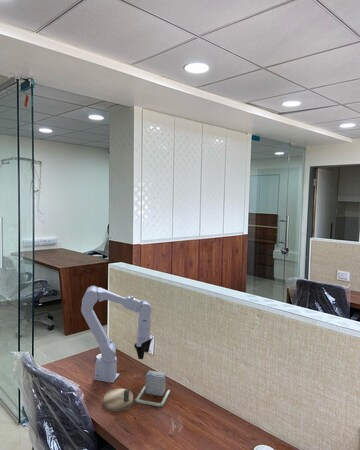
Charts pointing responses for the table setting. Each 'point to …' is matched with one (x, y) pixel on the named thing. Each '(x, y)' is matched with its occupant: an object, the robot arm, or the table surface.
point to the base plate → (119, 409)
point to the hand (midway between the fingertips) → (143, 355)
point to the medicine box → (155, 383)
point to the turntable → (118, 399)
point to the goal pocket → (149, 401)
